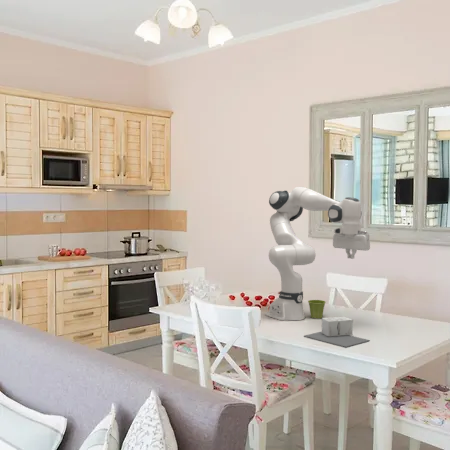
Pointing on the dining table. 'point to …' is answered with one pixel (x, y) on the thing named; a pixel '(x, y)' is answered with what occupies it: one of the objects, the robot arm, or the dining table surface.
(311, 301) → the plant pot
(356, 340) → the mat
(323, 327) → the supplement box
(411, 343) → the dining table surface
